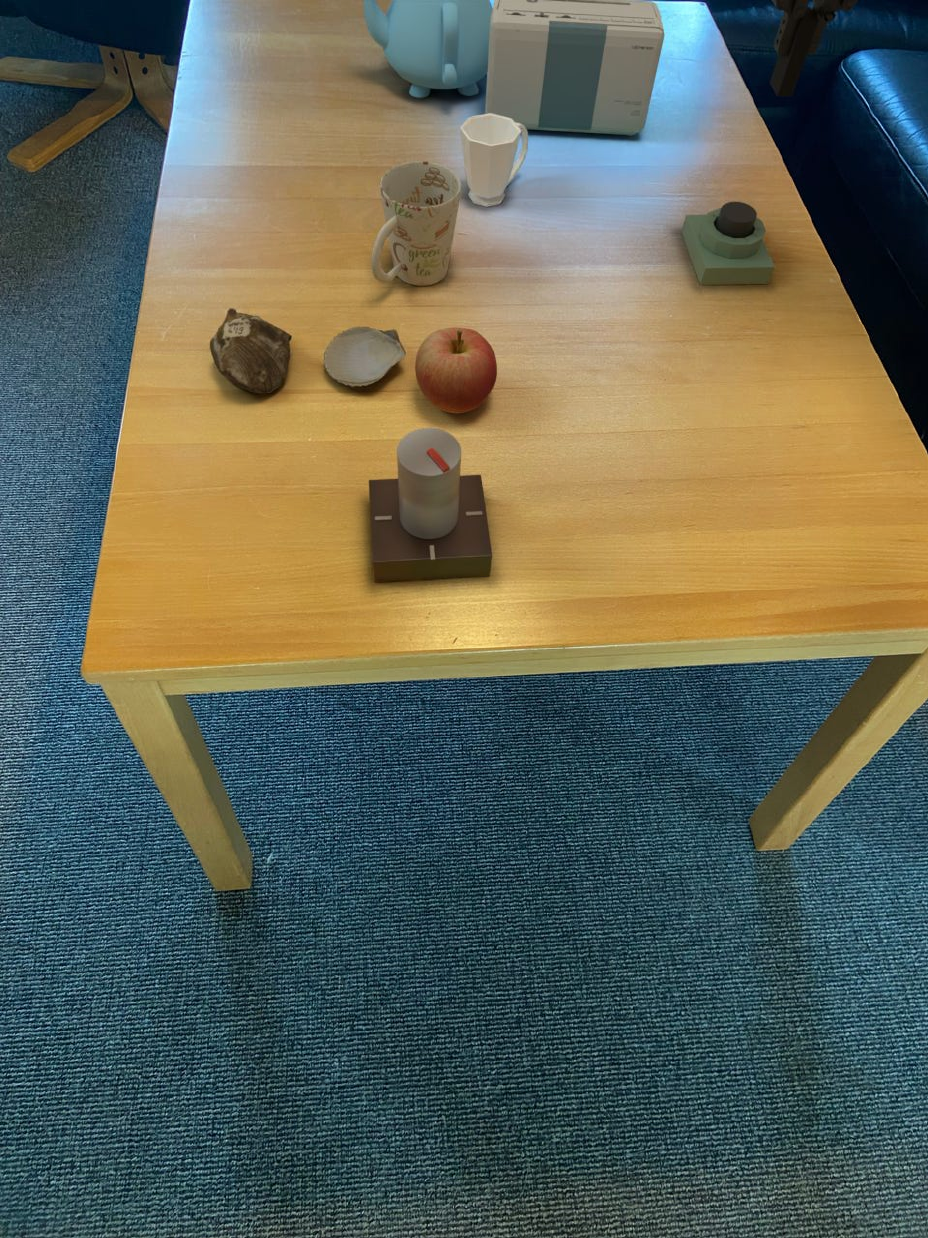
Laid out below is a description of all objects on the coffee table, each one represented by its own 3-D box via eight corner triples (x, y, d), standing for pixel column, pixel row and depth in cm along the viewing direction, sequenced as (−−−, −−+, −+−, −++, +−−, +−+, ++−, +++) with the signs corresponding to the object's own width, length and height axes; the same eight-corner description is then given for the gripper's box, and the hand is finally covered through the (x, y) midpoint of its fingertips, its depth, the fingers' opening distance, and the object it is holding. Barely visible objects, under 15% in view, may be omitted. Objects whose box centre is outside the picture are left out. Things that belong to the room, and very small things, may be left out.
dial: (388, 509, 71) (384, 440, 64) (437, 485, 73) (438, 416, 66) (420, 548, 69) (419, 482, 62) (469, 523, 71) (474, 455, 64)
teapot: (351, 80, 115) (343, -42, 103) (445, 33, 123) (448, -84, 111) (438, 125, 110) (440, 3, 98) (530, 74, 118) (542, -45, 106)
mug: (471, 263, 94) (476, 178, 86) (410, 323, 89) (408, 238, 80) (411, 237, 97) (409, 151, 88) (346, 295, 91) (338, 208, 82)
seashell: (326, 363, 87) (333, 401, 82) (317, 336, 85) (324, 374, 80) (401, 342, 88) (413, 379, 82) (395, 315, 85) (406, 351, 80)
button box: (768, 283, 95) (781, 252, 91) (700, 285, 94) (710, 253, 91) (745, 230, 100) (757, 199, 96) (681, 231, 99) (690, 199, 96)
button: (755, 239, 93) (761, 222, 91) (720, 239, 93) (726, 222, 91) (745, 217, 95) (751, 200, 93) (711, 218, 95) (717, 201, 93)
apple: (449, 359, 86) (451, 293, 79) (510, 395, 83) (517, 330, 77) (398, 400, 82) (395, 335, 76) (459, 439, 80) (462, 375, 73)
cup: (446, 194, 101) (447, 126, 95) (502, 164, 105) (507, 97, 98) (487, 220, 99) (491, 152, 92) (543, 188, 103) (551, 120, 96)
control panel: (479, 495, 76) (481, 472, 74) (490, 577, 72) (492, 555, 69) (370, 500, 76) (368, 477, 73) (374, 583, 71) (372, 562, 68)
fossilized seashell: (223, 307, 85) (190, 385, 81) (242, 271, 80) (207, 352, 76) (290, 345, 88) (261, 421, 84) (313, 312, 83) (283, 392, 79)
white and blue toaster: (484, 134, 109) (494, -50, 92) (485, 101, 113) (495, -80, 96) (642, 143, 109) (682, -39, 92) (637, 110, 114) (674, -69, 97)
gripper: (960, -264, 64) (832, 70, 84) (797, -270, 63) (707, 69, 83) (1001, -234, 60) (856, 109, 80) (827, -239, 59) (725, 109, 79)
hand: (780, 89), depth 81 cm, fingers closed
